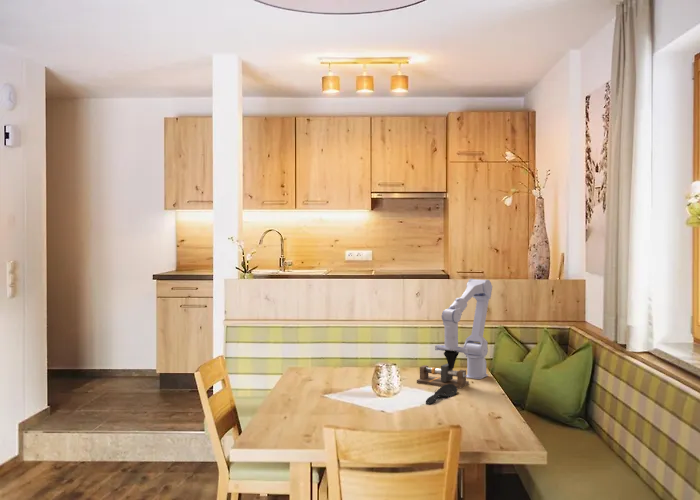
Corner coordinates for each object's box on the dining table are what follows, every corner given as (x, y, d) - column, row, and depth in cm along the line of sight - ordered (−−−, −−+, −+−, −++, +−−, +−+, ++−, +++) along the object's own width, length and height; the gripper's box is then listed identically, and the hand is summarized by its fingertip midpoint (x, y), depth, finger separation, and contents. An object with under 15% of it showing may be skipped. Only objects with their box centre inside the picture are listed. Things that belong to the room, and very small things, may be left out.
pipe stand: (427, 378, 302) (427, 364, 301) (468, 384, 290) (468, 369, 290) (416, 382, 293) (416, 368, 293) (458, 388, 282) (458, 373, 282)
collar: (447, 378, 294) (447, 363, 294) (452, 378, 293) (452, 363, 293) (440, 381, 289) (440, 365, 288) (446, 381, 287) (445, 366, 287)
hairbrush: (417, 397, 259) (442, 380, 281) (417, 406, 260) (442, 389, 281) (437, 400, 255) (461, 383, 277) (437, 409, 256) (461, 391, 277)
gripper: (431, 336, 290) (432, 368, 290) (462, 339, 281) (463, 371, 282) (439, 334, 295) (439, 365, 296) (469, 337, 287) (470, 368, 288)
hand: (451, 368), depth 289 cm, fingers closed
